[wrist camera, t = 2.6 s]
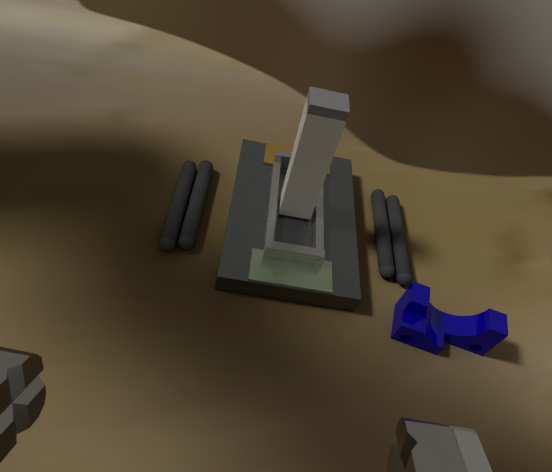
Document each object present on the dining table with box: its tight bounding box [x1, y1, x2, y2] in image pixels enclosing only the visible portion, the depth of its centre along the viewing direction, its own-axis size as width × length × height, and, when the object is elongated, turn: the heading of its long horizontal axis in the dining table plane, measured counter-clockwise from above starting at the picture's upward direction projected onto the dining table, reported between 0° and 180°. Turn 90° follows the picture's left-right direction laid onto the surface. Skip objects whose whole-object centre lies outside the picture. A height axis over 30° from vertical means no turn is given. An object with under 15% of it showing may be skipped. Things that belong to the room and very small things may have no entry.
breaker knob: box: [279, 87, 350, 220], centre depth 37 cm, size 2×3×12 cm
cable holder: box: [391, 282, 508, 356], centre depth 36 cm, size 8×4×4 cm, turn 73°
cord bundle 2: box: [371, 189, 412, 286], centre depth 43 cm, size 12×3×1 cm, turn 176°
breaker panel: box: [215, 139, 361, 312], centre depth 41 cm, size 18×12×4 cm, turn 176°
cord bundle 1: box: [159, 160, 213, 251], centre depth 41 cm, size 12×3×1 cm, turn 176°
